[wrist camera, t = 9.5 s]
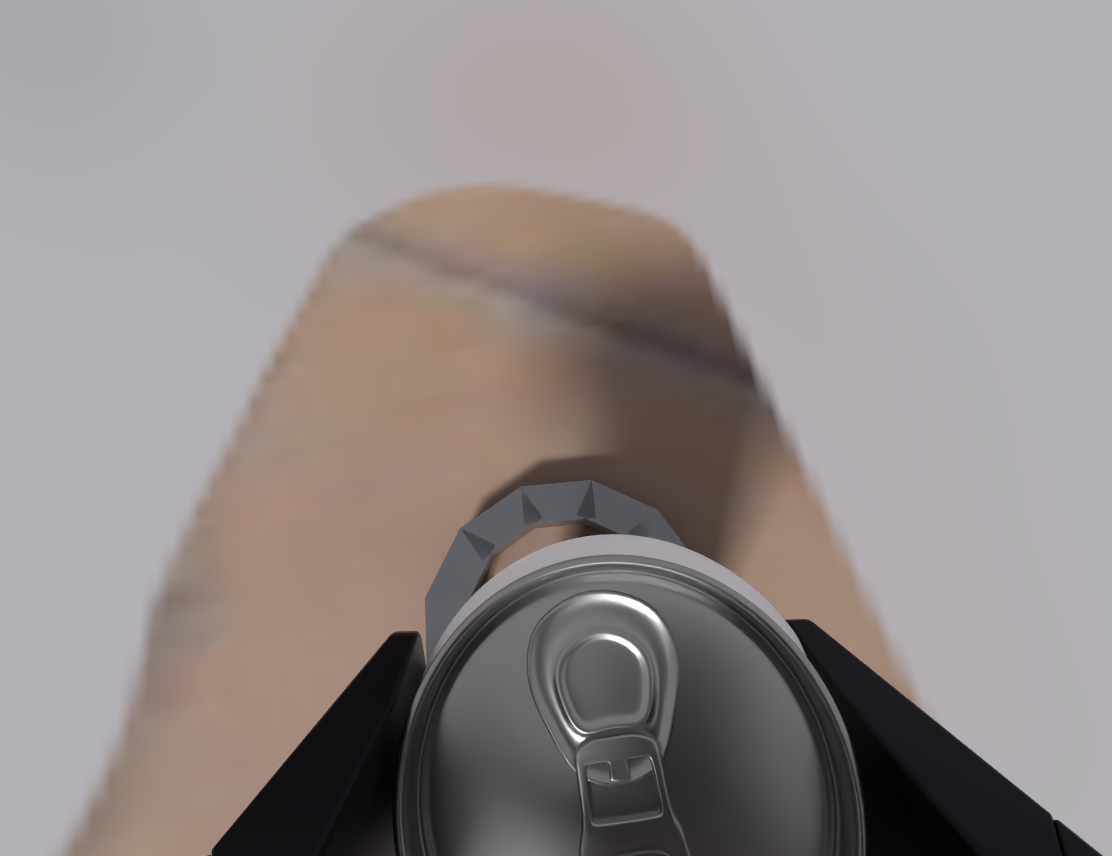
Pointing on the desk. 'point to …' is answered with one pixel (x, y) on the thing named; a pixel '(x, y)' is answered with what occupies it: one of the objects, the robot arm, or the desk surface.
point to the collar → (519, 518)
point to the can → (624, 718)
